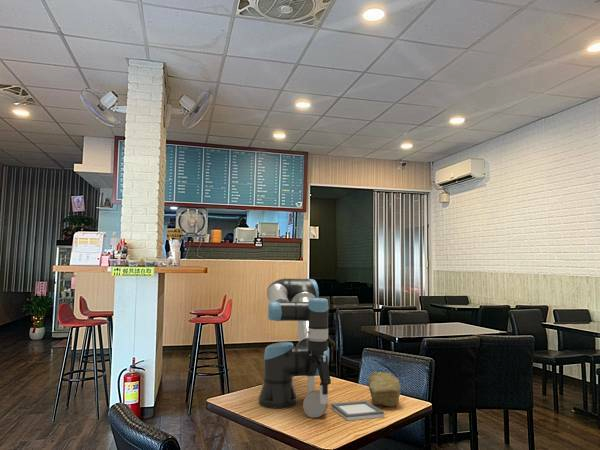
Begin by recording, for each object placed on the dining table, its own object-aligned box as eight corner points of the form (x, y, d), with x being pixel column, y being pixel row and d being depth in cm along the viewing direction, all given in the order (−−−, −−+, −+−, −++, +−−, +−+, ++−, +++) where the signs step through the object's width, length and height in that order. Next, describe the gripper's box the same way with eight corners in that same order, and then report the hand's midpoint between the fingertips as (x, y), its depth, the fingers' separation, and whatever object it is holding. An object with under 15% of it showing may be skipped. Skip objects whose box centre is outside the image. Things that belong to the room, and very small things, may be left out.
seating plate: (331, 408, 173) (331, 403, 173) (365, 405, 178) (365, 400, 178) (347, 420, 159) (347, 415, 159) (384, 417, 163) (384, 412, 164)
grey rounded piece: (297, 399, 160) (305, 382, 169) (302, 422, 163) (310, 404, 172) (322, 400, 157) (329, 382, 165) (327, 424, 159) (334, 405, 168)
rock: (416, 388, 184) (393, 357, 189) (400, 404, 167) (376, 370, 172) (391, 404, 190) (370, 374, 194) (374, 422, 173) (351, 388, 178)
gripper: (298, 335, 177) (296, 390, 175) (320, 345, 154) (319, 408, 151) (315, 335, 180) (314, 389, 177) (340, 344, 156) (339, 407, 154)
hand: (317, 398), depth 164 cm, fingers open, 13 cm apart
